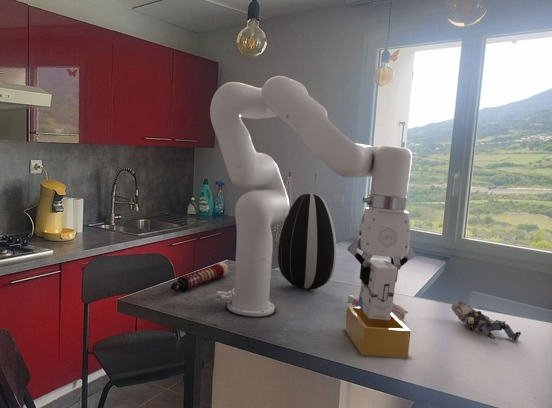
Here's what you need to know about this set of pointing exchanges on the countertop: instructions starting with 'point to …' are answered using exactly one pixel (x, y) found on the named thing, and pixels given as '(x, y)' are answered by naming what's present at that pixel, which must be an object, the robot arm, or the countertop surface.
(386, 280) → the ink box
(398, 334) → the holder
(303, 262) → the sunflower seed
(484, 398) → the countertop surface
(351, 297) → the toy
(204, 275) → the shock absorber
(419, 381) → the countertop surface
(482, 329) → the toy
